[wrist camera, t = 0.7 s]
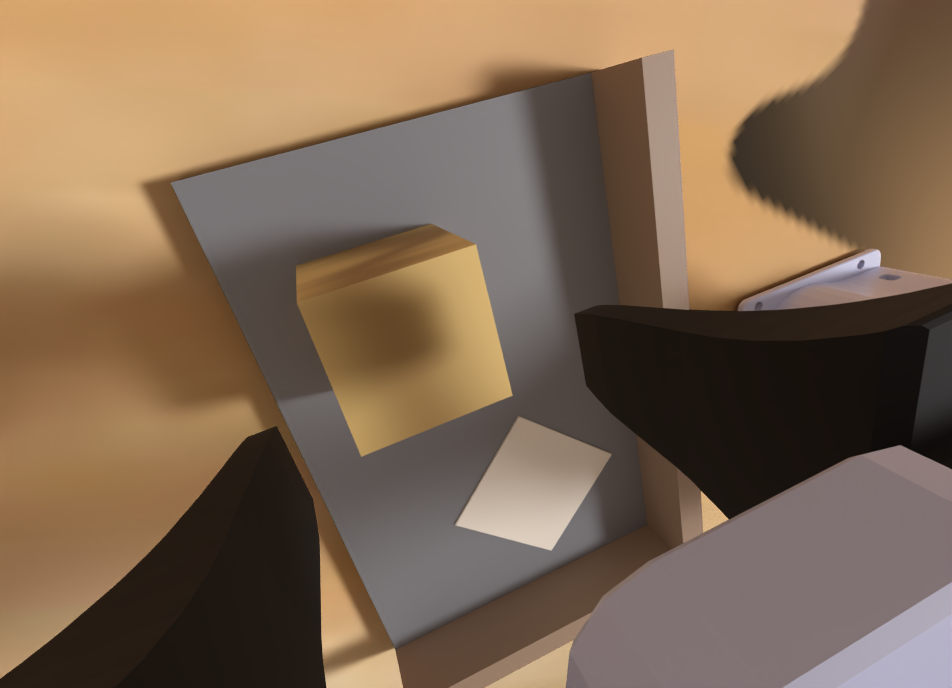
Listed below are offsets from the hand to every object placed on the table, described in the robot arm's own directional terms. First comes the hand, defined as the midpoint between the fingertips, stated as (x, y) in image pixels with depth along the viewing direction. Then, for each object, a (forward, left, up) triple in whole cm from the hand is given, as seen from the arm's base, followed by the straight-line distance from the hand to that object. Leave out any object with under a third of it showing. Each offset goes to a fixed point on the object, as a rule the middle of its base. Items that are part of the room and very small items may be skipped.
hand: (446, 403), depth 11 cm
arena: (-3, +6, -9) cm, 11 cm away
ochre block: (0, 0, -8) cm, 8 cm away
